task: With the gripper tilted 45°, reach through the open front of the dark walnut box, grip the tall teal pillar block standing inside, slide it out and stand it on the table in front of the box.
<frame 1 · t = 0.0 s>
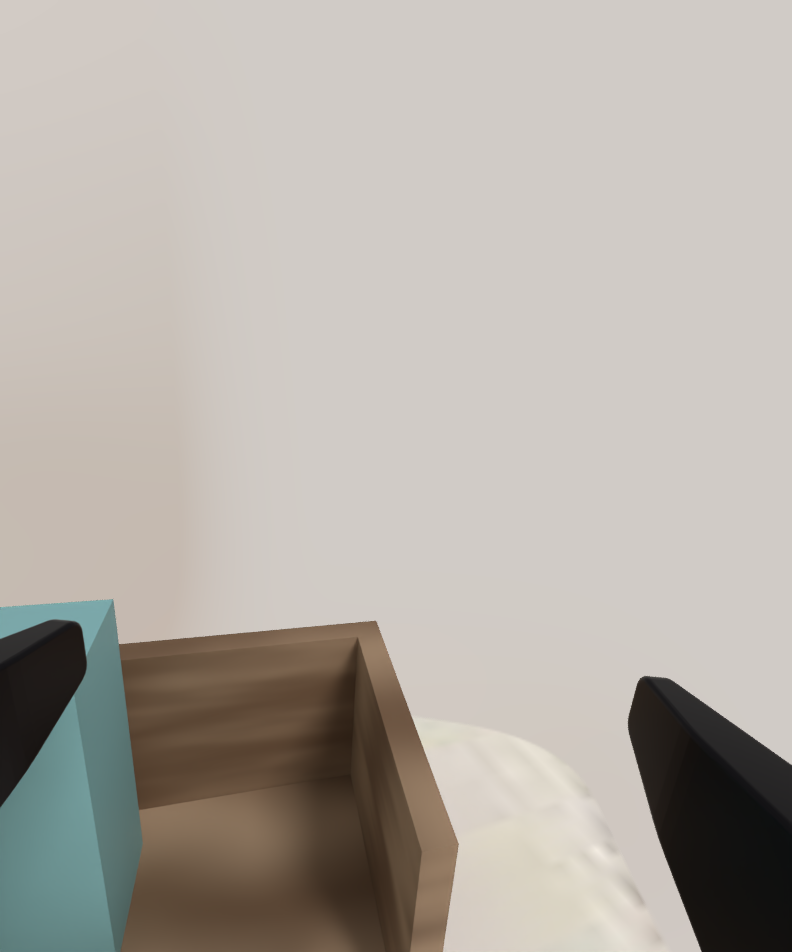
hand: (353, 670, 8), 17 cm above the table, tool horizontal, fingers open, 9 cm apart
pillar block: (67, 911, 18), point 1 cm above the table, touching open box
open box: (73, 940, 18), on the table
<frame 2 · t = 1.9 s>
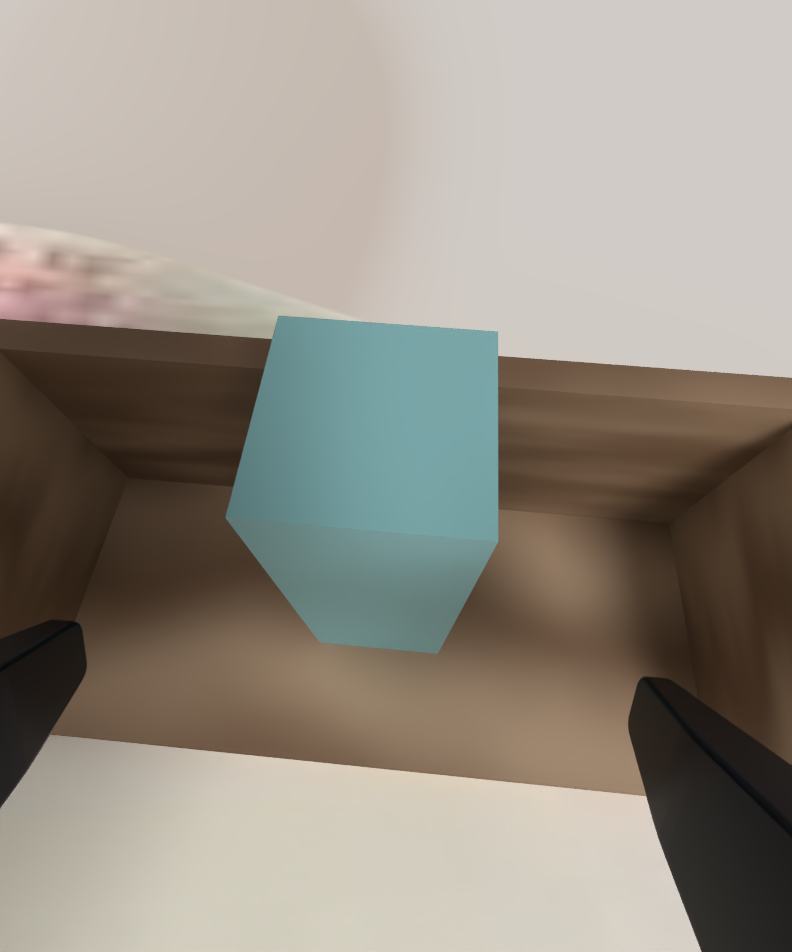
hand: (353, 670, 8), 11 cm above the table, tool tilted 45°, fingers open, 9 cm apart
pillar block: (384, 589, 18), point 1 cm above the table, touching open box
open box: (384, 599, 19), on the table
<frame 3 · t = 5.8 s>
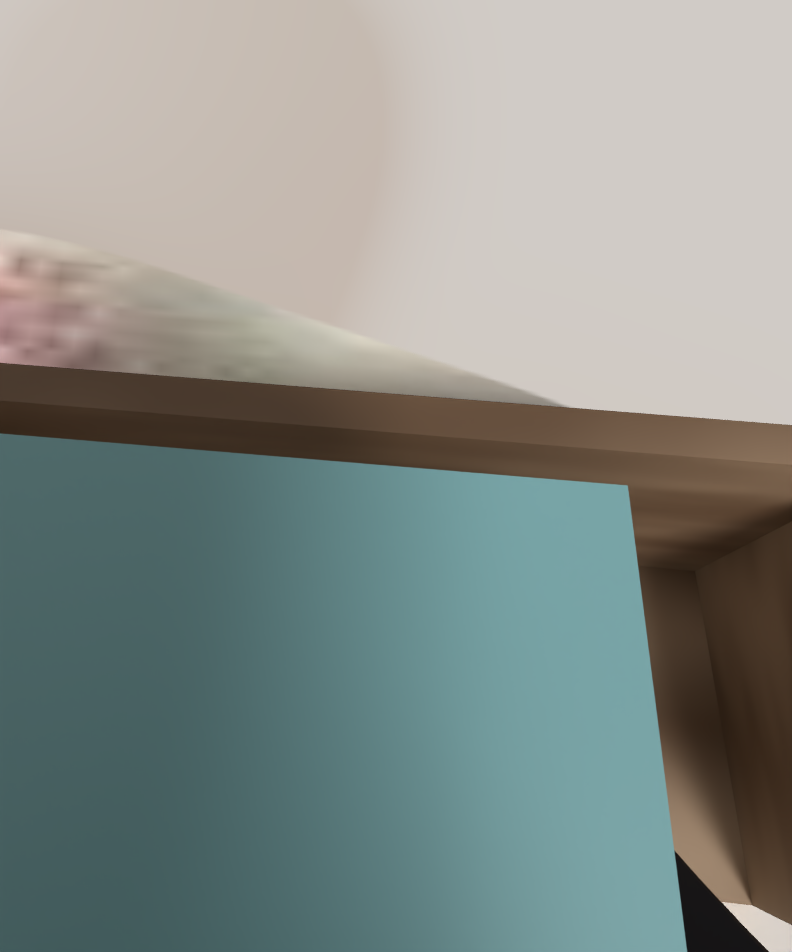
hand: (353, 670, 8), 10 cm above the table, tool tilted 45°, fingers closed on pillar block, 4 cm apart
pillar block: (360, 755, 12), point 5 cm above the table, touching gripper
open box: (378, 654, 18), on the table
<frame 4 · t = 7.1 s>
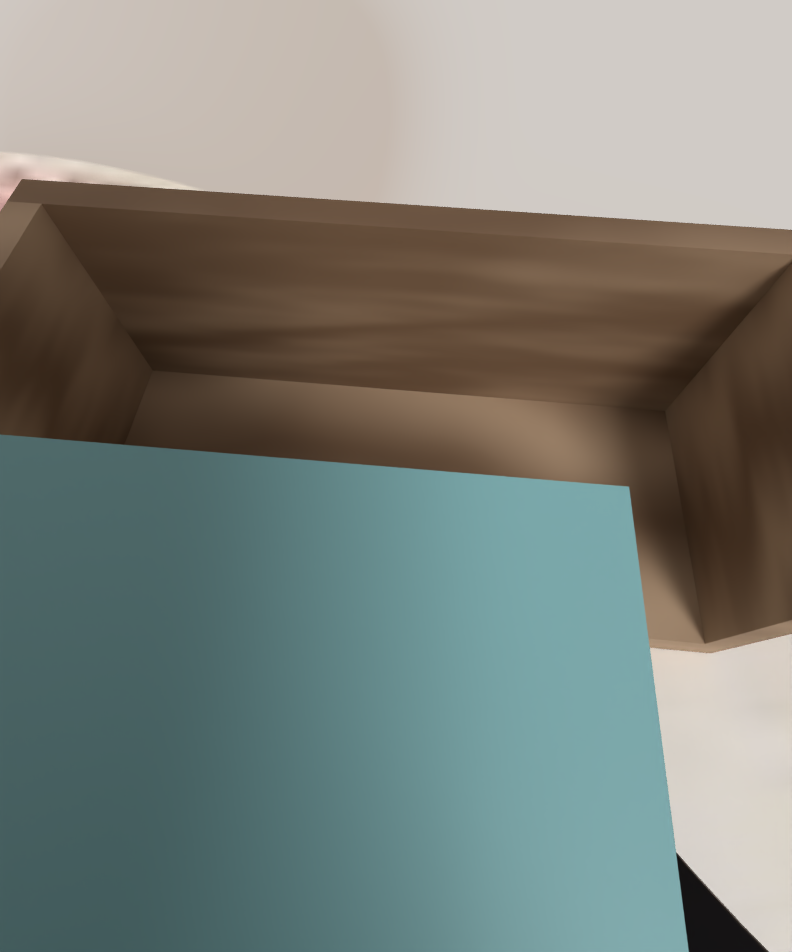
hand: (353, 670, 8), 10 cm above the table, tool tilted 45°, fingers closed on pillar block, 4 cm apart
pillar block: (360, 756, 12), point 5 cm above the table, touching gripper
open box: (396, 483, 21), on the table
when the fingers open (6 cm above the table, at t = 8.1 s): pillar block drops 1 cm, on the table.
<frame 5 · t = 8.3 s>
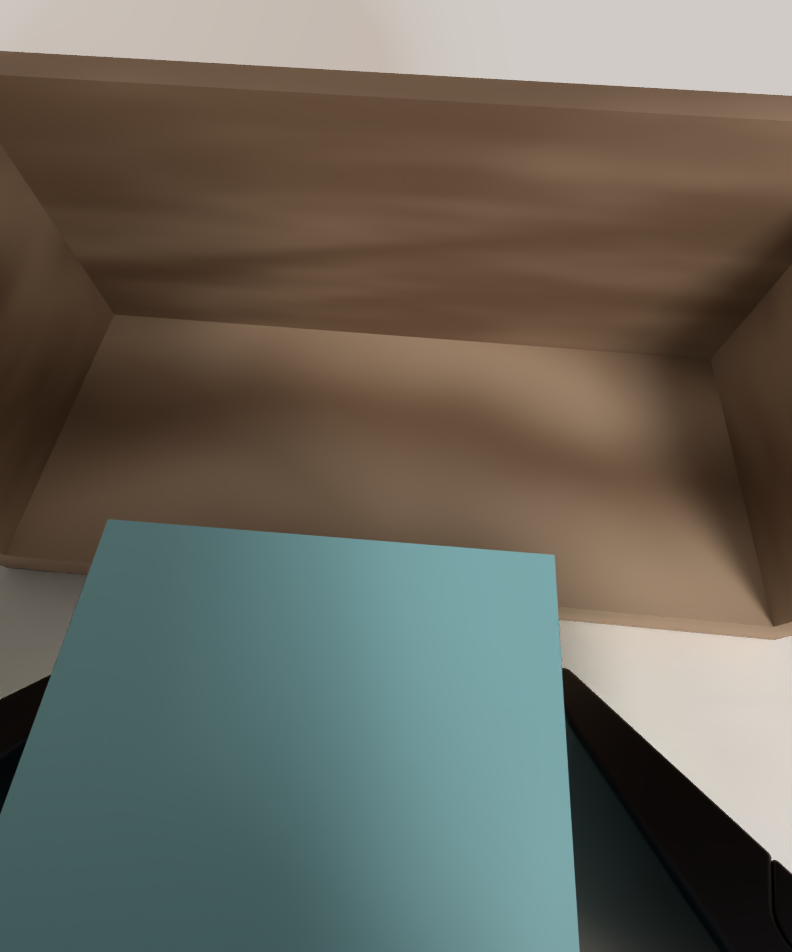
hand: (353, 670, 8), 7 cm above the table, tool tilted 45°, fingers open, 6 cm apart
pillar block: (363, 753, 13), on the table
open box: (396, 443, 18), on the table
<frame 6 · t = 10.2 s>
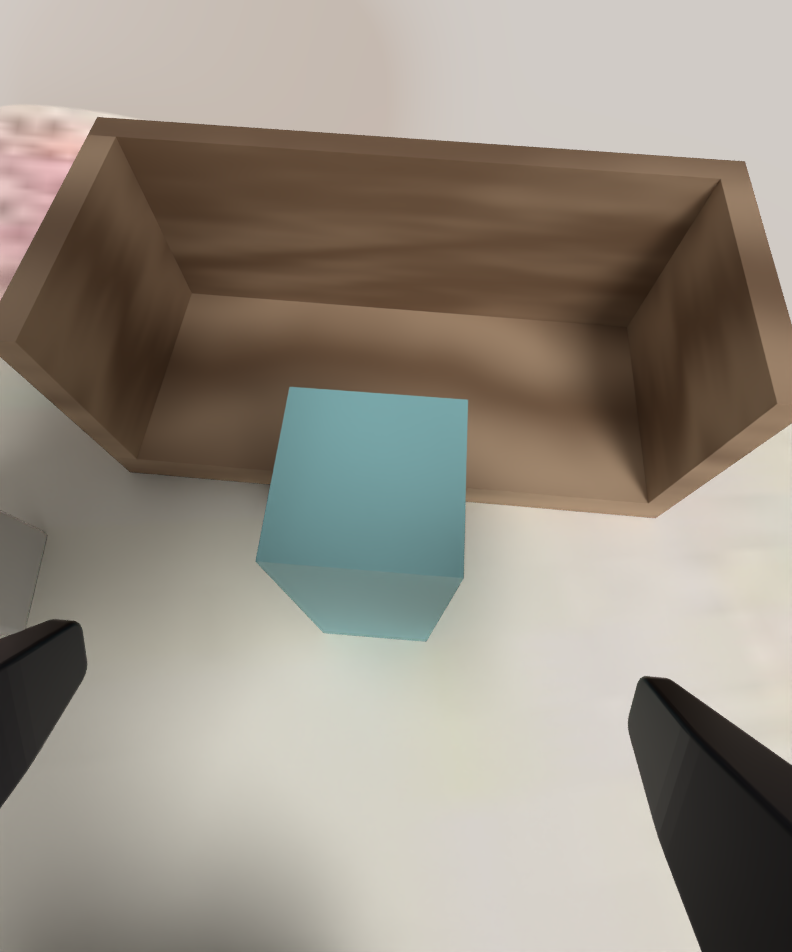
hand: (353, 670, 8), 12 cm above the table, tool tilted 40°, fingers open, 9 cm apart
pillar block: (379, 585, 21), on the table
open box: (400, 388, 24), on the table
lighter: (8, 620, 20), on the table
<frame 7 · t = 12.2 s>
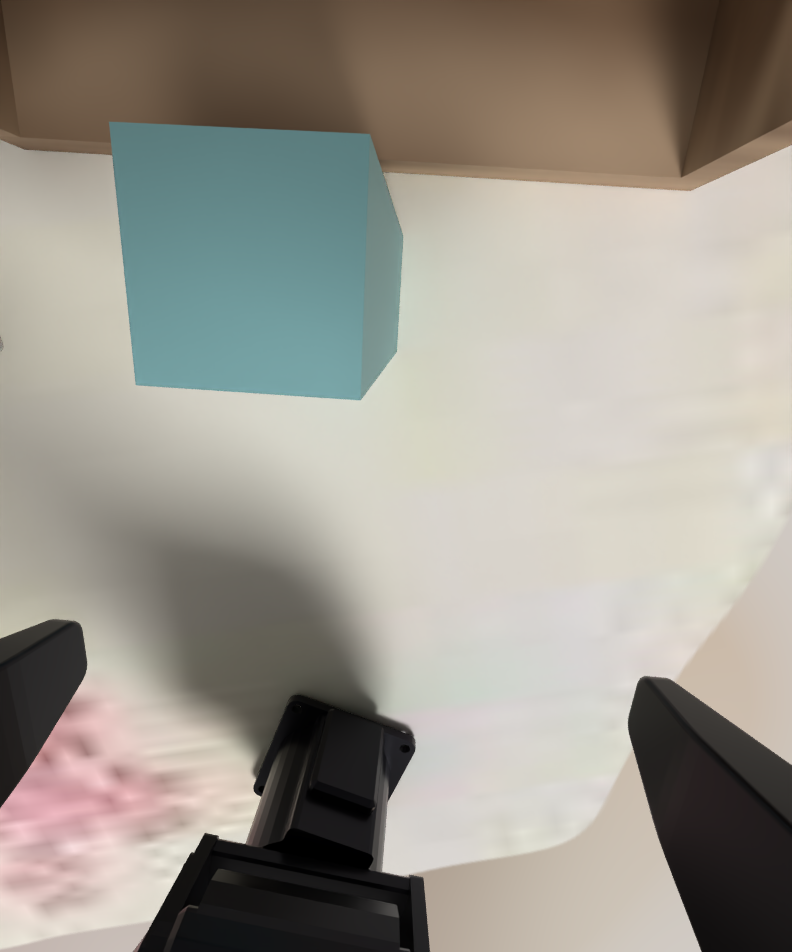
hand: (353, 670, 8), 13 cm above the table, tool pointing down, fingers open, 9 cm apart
pillar block: (345, 292, 19), on the table
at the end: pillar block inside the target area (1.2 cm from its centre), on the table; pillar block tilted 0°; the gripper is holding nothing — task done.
